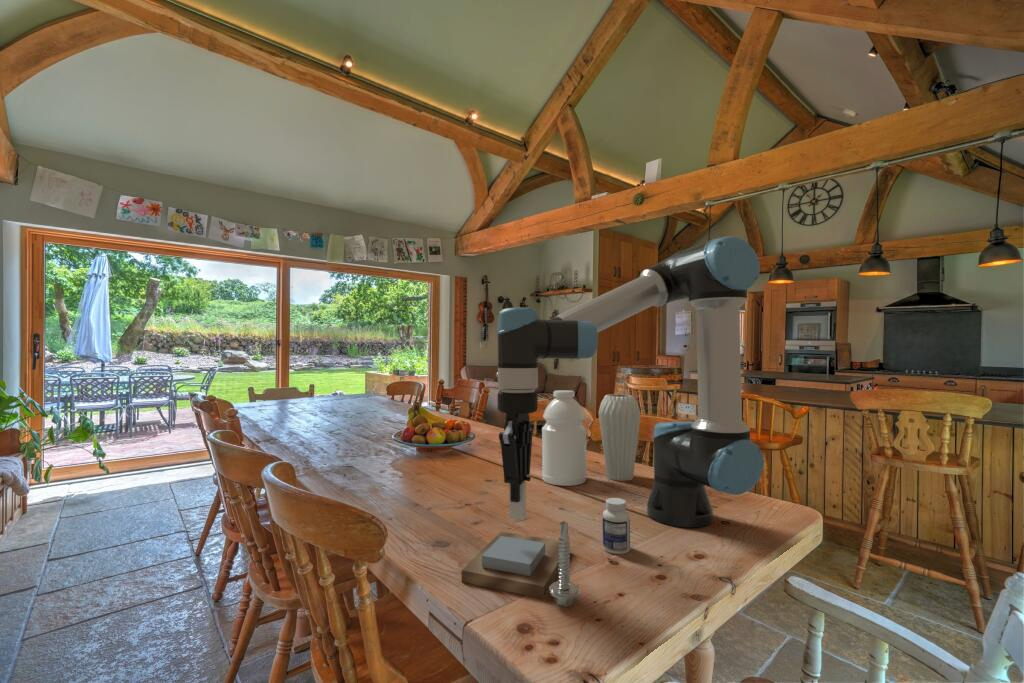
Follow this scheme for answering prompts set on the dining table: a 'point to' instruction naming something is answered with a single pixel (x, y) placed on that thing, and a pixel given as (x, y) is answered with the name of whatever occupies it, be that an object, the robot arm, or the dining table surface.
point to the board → (515, 582)
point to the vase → (619, 434)
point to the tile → (514, 555)
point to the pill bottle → (616, 527)
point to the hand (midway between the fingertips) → (517, 517)
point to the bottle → (564, 441)
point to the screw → (564, 572)
